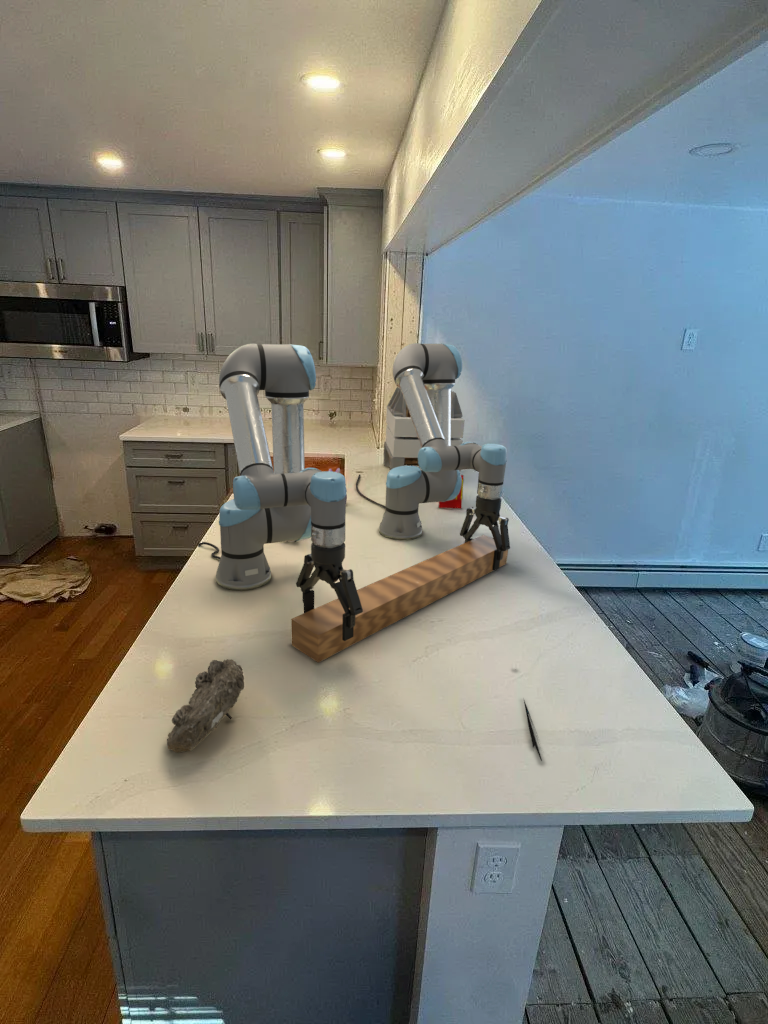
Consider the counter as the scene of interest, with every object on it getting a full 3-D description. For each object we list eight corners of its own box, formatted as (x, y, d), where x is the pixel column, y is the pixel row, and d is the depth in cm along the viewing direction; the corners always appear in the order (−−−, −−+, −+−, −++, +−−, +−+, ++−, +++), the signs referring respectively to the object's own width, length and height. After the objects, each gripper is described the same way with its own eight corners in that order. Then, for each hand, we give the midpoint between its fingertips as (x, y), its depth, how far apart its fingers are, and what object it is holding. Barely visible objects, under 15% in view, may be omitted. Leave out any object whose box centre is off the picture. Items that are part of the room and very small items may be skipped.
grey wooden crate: (382, 463, 289) (386, 382, 275) (445, 464, 293) (451, 384, 279) (390, 482, 257) (394, 392, 243) (460, 483, 261) (468, 394, 247)
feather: (515, 674, 127) (521, 668, 126) (541, 765, 100) (548, 758, 100) (509, 670, 127) (514, 664, 126) (533, 761, 100) (540, 753, 99)
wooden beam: (481, 554, 186) (483, 534, 184) (506, 563, 180) (509, 543, 178) (291, 645, 132) (291, 618, 130) (318, 663, 126) (318, 635, 123)
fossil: (192, 660, 117) (244, 628, 112) (224, 691, 120) (276, 661, 115) (142, 746, 98) (202, 712, 93) (182, 779, 101) (242, 748, 96)
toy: (456, 466, 252) (467, 476, 223) (454, 496, 255) (465, 509, 225) (428, 465, 252) (437, 475, 222) (427, 495, 254) (435, 508, 225)
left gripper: (279, 531, 130) (282, 613, 137) (355, 564, 114) (353, 655, 121) (305, 523, 136) (306, 603, 142) (380, 554, 120) (377, 642, 126)
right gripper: (452, 489, 175) (446, 555, 183) (514, 508, 161) (505, 579, 168) (466, 485, 180) (460, 549, 188) (528, 502, 166) (519, 571, 174)
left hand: (327, 627), depth 132 cm, fingers open, 13 cm apart
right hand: (481, 563), depth 178 cm, fingers closed on wooden beam, 10 cm apart
